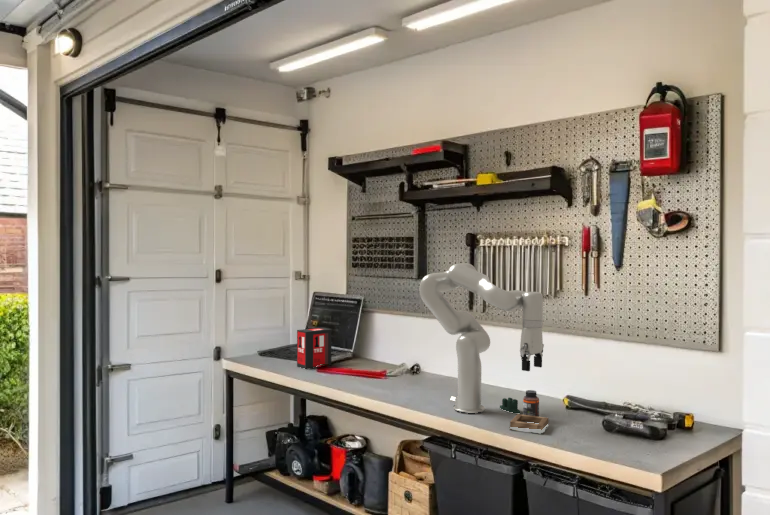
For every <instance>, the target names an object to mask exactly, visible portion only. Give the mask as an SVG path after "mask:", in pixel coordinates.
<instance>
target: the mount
mask: <svg viewBox="0 0 770 515" xmlns="http://www.w3.org/2000/svg"><path fill="white" fill-rule="evenodd" d="M501 402H502V403H501V404H502V405H501V404H499V409H500V408H501V409H503V410H506V411H509V412H513V413H520V414H521V410H520V409H519V408H518V405H519V404H518V403H519V402H518V399H516V398H513V397H508V398H505V397H504V398H502V400H501ZM501 409H500V410H501ZM503 410H502V411H503ZM506 411H505V412H506ZM513 413H512V414H513Z"/></svg>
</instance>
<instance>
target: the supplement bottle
mask: <svg viewBox="0 0 770 515" xmlns="http://www.w3.org/2000/svg"><path fill="white" fill-rule="evenodd" d="M522 400H523V401H522V402H523V403H522V405H523V406H522V407H523V408H522V412H523V415H531V416H539V417H540V399H539V397H538V396H537V391H536V390H533V389H528V390H525V396H524V397H523V398H522Z"/></svg>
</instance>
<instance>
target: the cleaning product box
mask: <svg viewBox="0 0 770 515" xmlns="http://www.w3.org/2000/svg"><path fill="white" fill-rule="evenodd" d="M320 364H329V365H331V366H332V329H331V328H326V327H314V328H306V329H297V330H296V367H297V368H300V367H301V369H303V368H305V369H304V370H308V369H307V368H312V369H314V368H313V367H316V366H317V365H320Z"/></svg>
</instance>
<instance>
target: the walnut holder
mask: <svg viewBox="0 0 770 515" xmlns="http://www.w3.org/2000/svg"><path fill="white" fill-rule="evenodd" d="M549 418H550V417H546V416H540V415H539V416H531V415H523V414H522V413H520V414H515V416H514V417H513V418H512V419H511V420H510V421H509V428H510V427H518V428H529V429H541V430H542V429H543V428H544V427H545V426H546V425H547V424H548V423H549V421H550V420H549ZM527 422H534V423H527ZM535 423H539V424H535ZM549 424H550V423H549Z"/></svg>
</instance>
